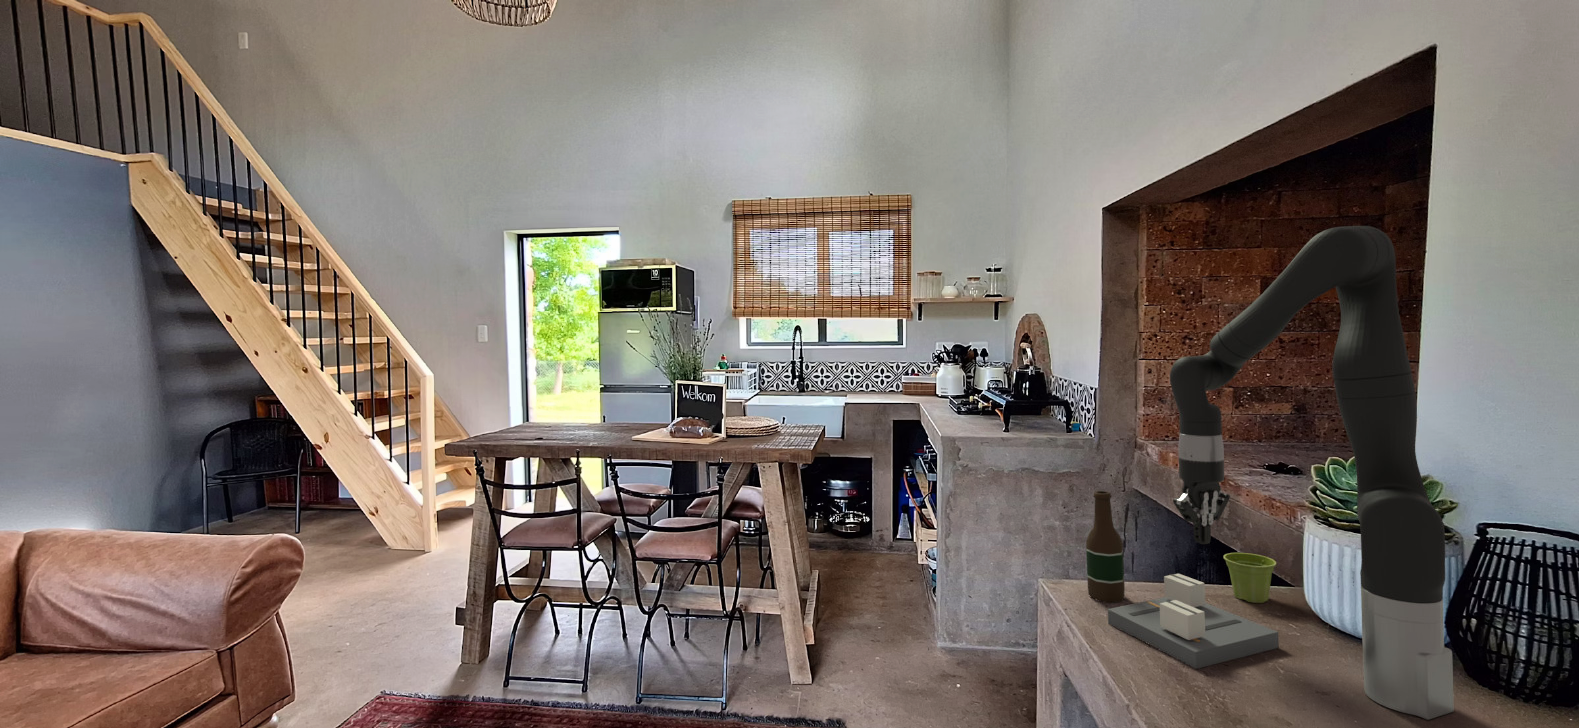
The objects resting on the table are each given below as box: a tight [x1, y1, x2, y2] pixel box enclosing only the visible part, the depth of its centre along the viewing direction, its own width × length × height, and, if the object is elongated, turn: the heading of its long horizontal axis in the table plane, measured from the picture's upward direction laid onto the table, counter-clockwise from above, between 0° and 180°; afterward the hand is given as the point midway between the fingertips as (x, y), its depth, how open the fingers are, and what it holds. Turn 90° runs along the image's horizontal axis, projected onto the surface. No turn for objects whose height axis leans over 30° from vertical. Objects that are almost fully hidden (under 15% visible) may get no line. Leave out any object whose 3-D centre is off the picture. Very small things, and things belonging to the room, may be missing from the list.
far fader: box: [1163, 573, 1206, 607], centre depth 131 cm, size 6×4×5 cm, turn 17°
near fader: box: [1160, 600, 1205, 640], centre depth 118 cm, size 6×4×5 cm, turn 17°
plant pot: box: [1223, 552, 1277, 604], centre depth 139 cm, size 9×9×9 cm
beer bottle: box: [1085, 490, 1126, 603], centre depth 143 cm, size 8×8×24 cm
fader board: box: [1107, 596, 1280, 670], centre depth 124 cm, size 20×20×3 cm
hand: (1202, 542), depth 125 cm, fingers closed
